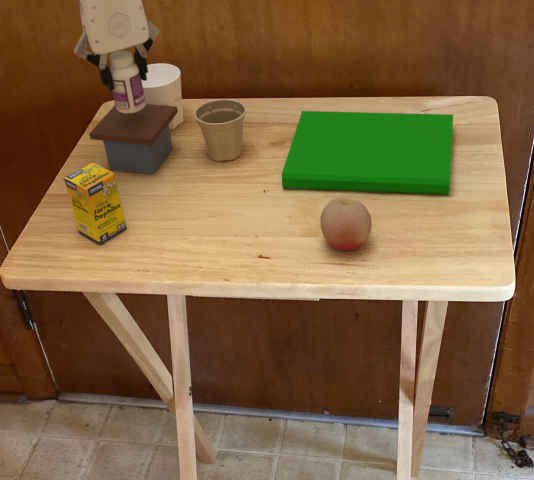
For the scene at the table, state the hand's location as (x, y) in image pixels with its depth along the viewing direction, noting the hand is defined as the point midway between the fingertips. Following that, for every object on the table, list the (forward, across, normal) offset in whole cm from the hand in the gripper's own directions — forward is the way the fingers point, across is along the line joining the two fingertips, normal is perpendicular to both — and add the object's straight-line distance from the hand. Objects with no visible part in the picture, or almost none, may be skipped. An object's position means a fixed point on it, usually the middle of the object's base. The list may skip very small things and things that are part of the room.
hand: (125, 81), depth 141 cm
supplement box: (+16, -14, -18) cm, 28 cm away
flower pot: (+16, +14, -7) cm, 22 cm away
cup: (+16, +9, +11) cm, 21 cm away
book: (+16, +35, -24) cm, 45 cm away
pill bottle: (+5, 0, 0) cm, 5 cm away
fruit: (+16, +18, -43) cm, 49 cm away
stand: (+16, 0, 0) cm, 16 cm away
